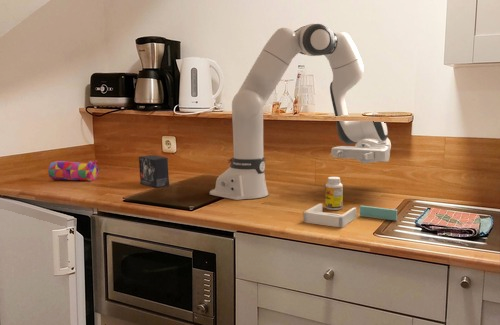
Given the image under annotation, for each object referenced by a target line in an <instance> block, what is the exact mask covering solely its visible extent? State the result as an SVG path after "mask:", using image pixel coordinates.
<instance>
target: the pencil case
mask: <svg viewBox="0 0 500 325" xmlns="http://www.w3.org/2000/svg"><path fill="white" fill-rule="evenodd" d="M97 162H98V160H94V161H92V160H89V161H88V162H81V161H71V160H70V161H67V160H55V161H52V162H51V163H50V164H49V166H48V171H47V172H48V177H49V178H50V179H51V180H54V181H55V180H58V181H59V180H60V181H78V180H80V181H82V182H84V181H87V182H93V181H96V179H98V173H100V171H101V168H100V167H99V168H98V165H97V164H96V163H97Z"/></svg>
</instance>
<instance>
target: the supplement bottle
mask: <svg viewBox="0 0 500 325" xmlns="http://www.w3.org/2000/svg"><path fill="white" fill-rule="evenodd" d="M324 188H325V193H324V194H325V198H324V199H325V201H324V204H325V205H324V207H325V209H327V210H330V211H340V210H341V209H342V208H343V197H344V196H343V195H344V194H343V190H344V189H343V188H344V186H343V184H342V183H341V177H339V176H329V177H327V182H326V183H325V187H324Z"/></svg>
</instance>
